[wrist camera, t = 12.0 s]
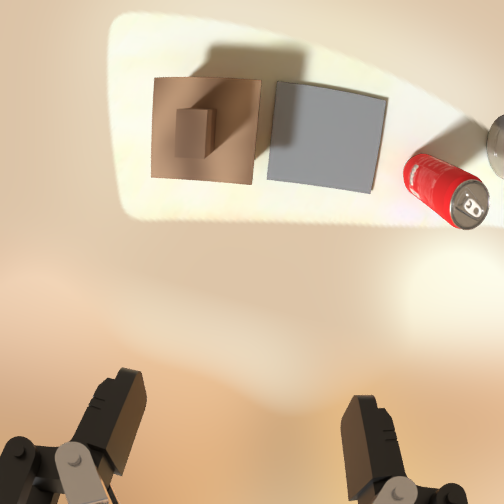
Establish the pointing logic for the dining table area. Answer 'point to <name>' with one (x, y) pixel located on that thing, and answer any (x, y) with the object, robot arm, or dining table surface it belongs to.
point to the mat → (325, 137)
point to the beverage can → (447, 190)
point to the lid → (204, 128)
